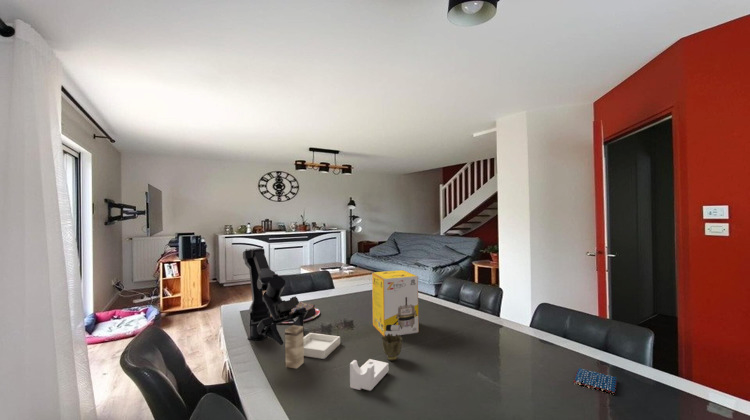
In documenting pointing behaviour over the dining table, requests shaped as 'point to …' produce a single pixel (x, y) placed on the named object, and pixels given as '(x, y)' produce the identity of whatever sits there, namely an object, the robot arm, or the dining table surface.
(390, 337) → the cup
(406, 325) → the packaging box
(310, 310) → the chocolate cake
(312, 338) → the tray
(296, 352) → the birch block
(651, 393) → the dining table surface
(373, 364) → the bracket
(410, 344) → the dining table surface
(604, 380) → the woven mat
